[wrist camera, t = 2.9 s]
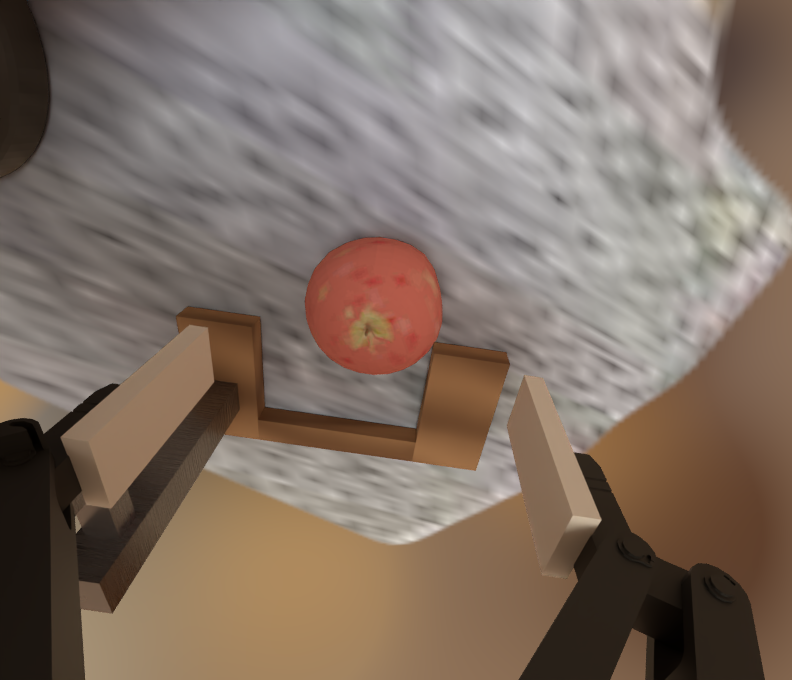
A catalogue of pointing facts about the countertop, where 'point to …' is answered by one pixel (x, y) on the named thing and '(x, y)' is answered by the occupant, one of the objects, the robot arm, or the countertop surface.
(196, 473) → the hook post
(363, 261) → the apple
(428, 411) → the brown u-shaped bracket
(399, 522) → the countertop surface
